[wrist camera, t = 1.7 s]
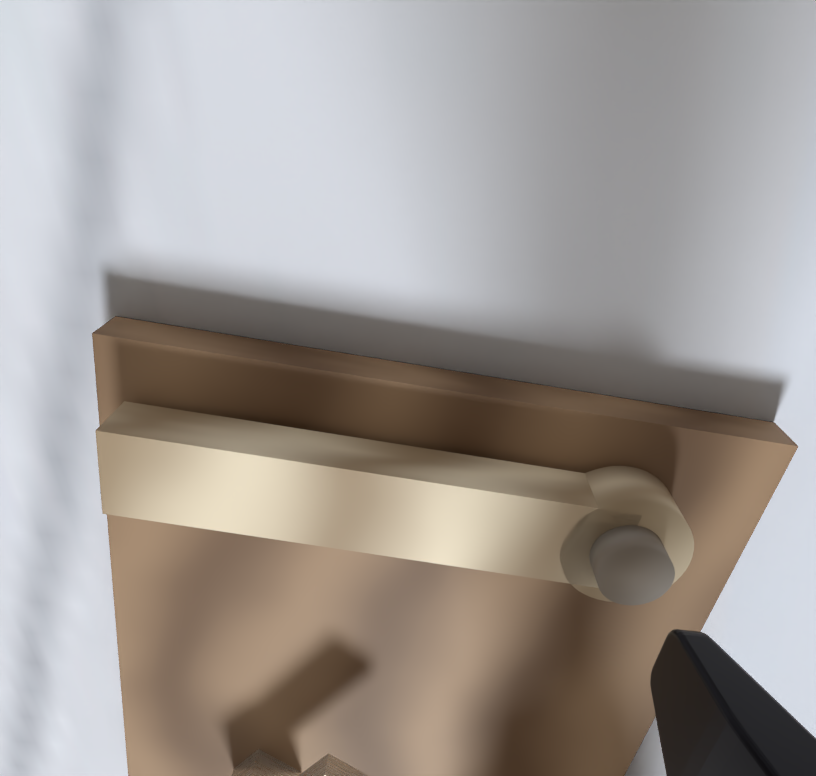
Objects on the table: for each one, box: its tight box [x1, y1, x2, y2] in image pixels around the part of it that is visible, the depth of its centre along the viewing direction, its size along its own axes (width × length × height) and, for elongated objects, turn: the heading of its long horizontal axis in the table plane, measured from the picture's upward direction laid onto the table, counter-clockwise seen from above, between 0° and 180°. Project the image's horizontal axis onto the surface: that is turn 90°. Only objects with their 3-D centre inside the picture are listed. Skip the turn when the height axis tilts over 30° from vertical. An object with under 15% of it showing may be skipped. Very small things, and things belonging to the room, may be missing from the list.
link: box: [96, 401, 694, 605], centre depth 19 cm, size 18×4×3 cm, turn 81°
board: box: [92, 316, 798, 776], centre depth 24 cm, size 22×23×2 cm
